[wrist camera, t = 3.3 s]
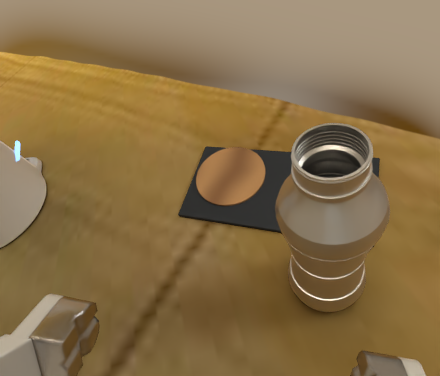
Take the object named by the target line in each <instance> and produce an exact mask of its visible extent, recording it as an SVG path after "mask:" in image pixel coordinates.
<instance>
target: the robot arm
mask: <svg viewBox="0 0 440 376" xmlns="http://www.w3.org/2000/svg"><path fill="white" fill-rule="evenodd" d="M41 170H42V162H41V161H40V160H39V159H38V158H36V157H31V158H23V157H22V156H21V155H20V143H19V142H18V141H15V151H14V150H13V149H11V148H10V147H8V146H7V145H6V144H4V143H3V142H2V141H0V248H1V247H3V246H5V245H7V244H8V243H10V242H11V241H13V240H14V239H15V238H17V237H18V236H19V235H20V234H21V233H22V232H23V231H24V230H25V229H26V228H27V227H28V226H29V225H30V224H31V223H32V222H33V220H34V219H35V217H36V216H37V214H38V213H39V211H40V209H41V207H42V205H43V203H44V200H45V196H46V182H45V179H44V178H43V176H42V173H41ZM96 312H97V306H96V303H94V302H90V301H85V300H80V299H76V298H71V297H66V296H61V295H56V294H51V293H50V294H48V295H46V296H45V297H44V298H43V299H42V300H41V301H40V302H39V303H38V304H37V305H36V307H35V308H34V309H33V310H32V311H31V312H30V313H29V314H28V316H27V317H26V318H25V319H24V320H23V321H22V322H21V323H20V325H19V326H18V327H17V328H16V329H15V330H14V331H13V332H12V334H11V335H8V334H5V335H3V336H1V337H0V376H77V374H78V372H79V371H80V369H81V367H82V366H83V362H82V357H83V356H85V355H87V354H88V353H90V352H91V350H92V348H93V347H94V345H95V343H96V340H97V337H98V334H99V320H98V319H97V318H96V317H95V316H94V315H95V314H96ZM357 362H358V366H356V367H355V368H353V369H352V372H351V375H350V376H426V375H425V372H424V370H423V368H422V366H421V364H420V363H419V362H418V361H417V360H413V359H407V358H402V357H396V356H392V355H386V354H380V353H374V352H368V351H360V352H359V354H358V356H357Z"/></svg>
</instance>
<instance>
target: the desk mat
mask: <svg viewBox="0 0 440 376" xmlns="http://www.w3.org/2000/svg"><path fill="white" fill-rule="evenodd" d="M223 149H226V148H221V147H205V150H204V152H203V155H202V157H201V160H200V162H199V165H198V167H197V170H196V172H195V175H194V177H193V179H192V182H191V184H190V187H189V189H188V192H187V194H186V197H185V199H184V202H183V204H182V207H181V209H180V212H179V214H178V215H179V216H181V217H187V218H194V219H200V220H206V221H212V222H218V223H225V224H231V225H237V226H243V227H250V228H256V229H262V230H268V231H274V232H281V230H280V227H279V225H278V222H277V219H276V213H275V206H276V200H277V197H278V194H279V191H280V189H281V186H282V185H283V183H284V181H285V180H286V179H287V178H288V176H289V175H290V174H291V167H292V159H291V152H280V151H265V150H252V151H253V152H255V153H256V154H258V155H259V156H260V158H261V159H262V160H263V162H264V165H265V171H266V174H265V180H264V182H263V184H262V186H261V188H260V189H259V191H258V192H257V193H256V194H255V195H254V196H253V197H251V198H250V199H248V200H247V201H245V202H242V203H240V204H237V205H232V206H219V205H215V204H212V203H210V202H208V201H207V200H205V199H204V198H203V197H202V196H201V194H200V193H199V191H198V189H197V185H196V177H197V173H198V170H199V168H200V166H201V165H202V164H203V162H204V161H205V160H206V159H207V158H208V157H210V156H211V155H212V154H214V153H216V152H218V151H220V150H223ZM249 150H250V149H249ZM379 160H380V158H372V166H373V170H372V172H373V173H374V174H375V175H376V176H377V177H378V176H379ZM281 233H282V232H281ZM373 247H374V246H373Z"/></svg>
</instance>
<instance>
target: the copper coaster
mask: <svg viewBox="0 0 440 376" xmlns="http://www.w3.org/2000/svg"><path fill="white" fill-rule="evenodd" d="M265 174H266V171H265V165H264V162H263V160H262V159H261V158H260V156H259V155H258V154H256V153H255V152H253V151H252V150H249V149H246V148H241V147H231V148H226V149H223V150H220V151H218V152H216V153H214V154H212V155H211V156H210V157H208V158H207V159H206V160H205V161H204V162H203V164H202V165H201V166H200V168H199V170H198V173H197V177H196V185H197V189H198V191H199V193H200V194H201V196H202V197H203V198H204V199H205V200H207V201H208V202H210V203H212V204H215V205H219V206H232V205H237V204H240V203H242V202H245V201H247V200H248V199H250V198H251V197H253V196H254V195H255V194H256V193H257V192H258V191H259V189H260V188H261V186H262V184H263V182H264V180H265Z"/></svg>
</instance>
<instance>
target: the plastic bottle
mask: <svg viewBox="0 0 440 376" xmlns="http://www.w3.org/2000/svg"><path fill="white" fill-rule="evenodd" d="M372 157H373V148H372V144H371V141H370V139H369V138H368V136H367V135H366V134H365V133H364V132H362V131H361V130H359V129H358V128H356V127H353V126H351V125H347V124H342V123H326V124H321V125H318V126H315V127H312V128H310V129H308V130H306V131H305V132H304V133H302V134H301V135H300V136H299V137H298V138H297V139H296V141H295V142H294V144H293V147H292V152H291V159H292V167H291V174H290V175H289V176H288V178H287V179H286V180H285V181H284V183H283V185H282V186H281V189H280V191H279V194H278V197H277V200H276V206H275V213H276V219H277V222H278V225H279V227H280V230H281V232H282V234H283V236H284V238H285V239H286V241H287V243H288V245H289V247H290V250H291V259H290V262H289V268H288V278H289V283H290V286H291V288H292V290H293V291H294V293H295V294H296V296H297V297H298V298H299V299H300V300H301V301H302V302H303V303H305V304H306V305H307V306H309V307H311V308H313V309H315V310H318V311H322V312H336V311H339V310H343V309H345V308H347V307H348V306H350V305H352V304H353V303H354V302H355V301H356V300H358V298H359V297H360V296H361V294H362V292H363V290H364V288H365V282H366V273H365V265H364V260H365V258H366V256H367V253H368V252H369V251H370V250H371V248H372V247H373V246H374V245H375V244H376V242H377V241H378V240H379V238H380V237H381V236H382V234H383V232H384V230H385V228H386V226H387V224H388V221H389V216H390V205H389V200H388V196H387V193H386V190H385V188H384V185H383V184H382V182H381V181H380V179H379V178H378V177H377V176H376V175H375V174H374V173H373V172H372V170H373V166H372Z"/></svg>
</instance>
